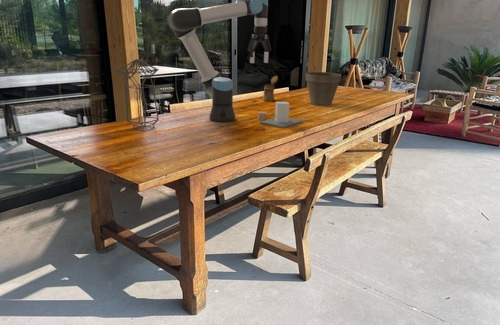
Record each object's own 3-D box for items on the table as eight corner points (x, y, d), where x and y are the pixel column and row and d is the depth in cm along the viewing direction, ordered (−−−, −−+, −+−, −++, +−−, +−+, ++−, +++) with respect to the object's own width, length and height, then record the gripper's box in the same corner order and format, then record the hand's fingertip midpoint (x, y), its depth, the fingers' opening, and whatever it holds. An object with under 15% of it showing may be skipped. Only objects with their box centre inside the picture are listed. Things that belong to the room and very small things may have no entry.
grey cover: (288, 122, 219) (289, 103, 216) (276, 122, 218) (277, 103, 215) (286, 119, 225) (287, 101, 222) (274, 119, 225) (275, 101, 221)
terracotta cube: (265, 120, 229) (266, 113, 227) (259, 120, 228) (259, 113, 227) (264, 118, 233) (265, 111, 231) (258, 118, 232) (258, 111, 231)
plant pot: (341, 107, 271) (344, 76, 264) (306, 106, 271) (308, 75, 265) (334, 101, 295) (337, 72, 288) (302, 100, 295) (304, 71, 288)
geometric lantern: (143, 133, 192) (136, 60, 181) (121, 130, 200) (113, 59, 189) (165, 127, 205) (160, 58, 194) (144, 124, 213) (137, 57, 202)
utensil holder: (280, 99, 297) (281, 75, 291) (269, 101, 287) (270, 77, 281) (271, 98, 302) (272, 74, 296) (260, 100, 293) (260, 75, 287)
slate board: (283, 128, 210) (283, 126, 210) (259, 123, 219) (259, 121, 219) (302, 122, 225) (303, 120, 225) (280, 118, 234) (280, 116, 234)
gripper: (268, 27, 243) (266, 62, 250) (242, 24, 225) (241, 62, 231) (278, 27, 239) (276, 62, 245) (252, 24, 220) (250, 63, 227)
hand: (259, 62), depth 238 cm, fingers open, 13 cm apart
